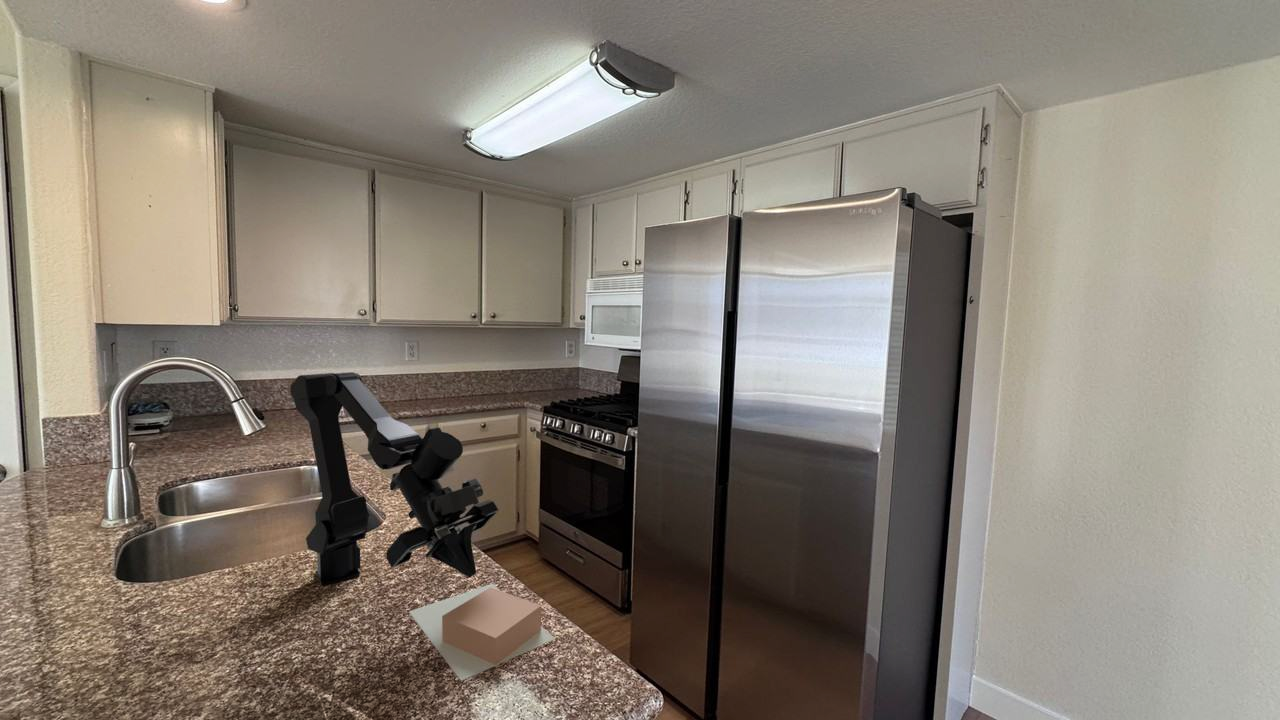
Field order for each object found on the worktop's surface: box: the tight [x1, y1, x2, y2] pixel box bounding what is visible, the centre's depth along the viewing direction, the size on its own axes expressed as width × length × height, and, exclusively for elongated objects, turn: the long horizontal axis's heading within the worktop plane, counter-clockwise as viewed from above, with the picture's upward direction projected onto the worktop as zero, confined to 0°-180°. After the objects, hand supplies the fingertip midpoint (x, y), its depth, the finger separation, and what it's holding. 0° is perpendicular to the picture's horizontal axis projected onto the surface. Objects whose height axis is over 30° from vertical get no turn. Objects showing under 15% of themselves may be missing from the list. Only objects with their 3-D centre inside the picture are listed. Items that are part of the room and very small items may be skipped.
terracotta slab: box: [442, 588, 542, 666], centre depth 81 cm, size 4×10×11 cm
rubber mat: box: [408, 583, 556, 682], centre depth 84 cm, size 15×22×1 cm
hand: (473, 575), depth 82 cm, fingers closed
